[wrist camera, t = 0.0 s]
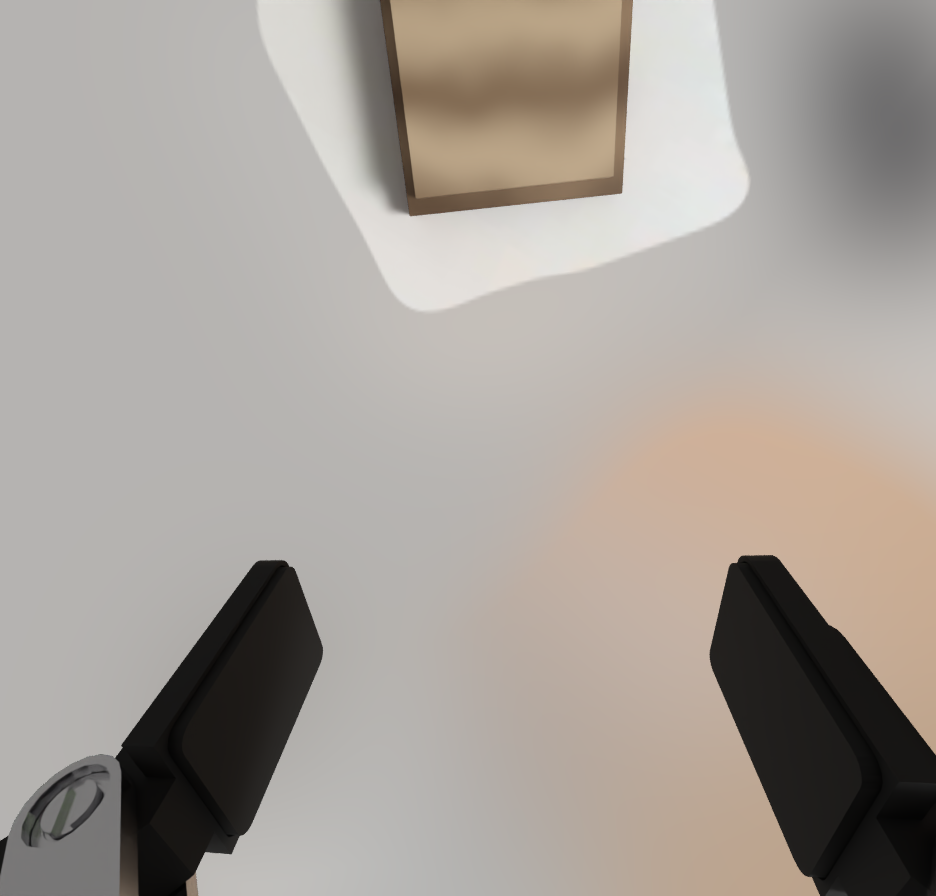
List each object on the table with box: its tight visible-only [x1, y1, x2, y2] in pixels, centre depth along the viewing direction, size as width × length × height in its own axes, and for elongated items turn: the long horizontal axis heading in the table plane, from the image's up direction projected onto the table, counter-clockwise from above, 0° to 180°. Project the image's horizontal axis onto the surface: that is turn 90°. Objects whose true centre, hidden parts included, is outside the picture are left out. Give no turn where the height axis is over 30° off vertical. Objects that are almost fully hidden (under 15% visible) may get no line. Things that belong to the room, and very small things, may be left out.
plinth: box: [380, 0, 633, 216], centre depth 29 cm, size 13×15×4 cm
